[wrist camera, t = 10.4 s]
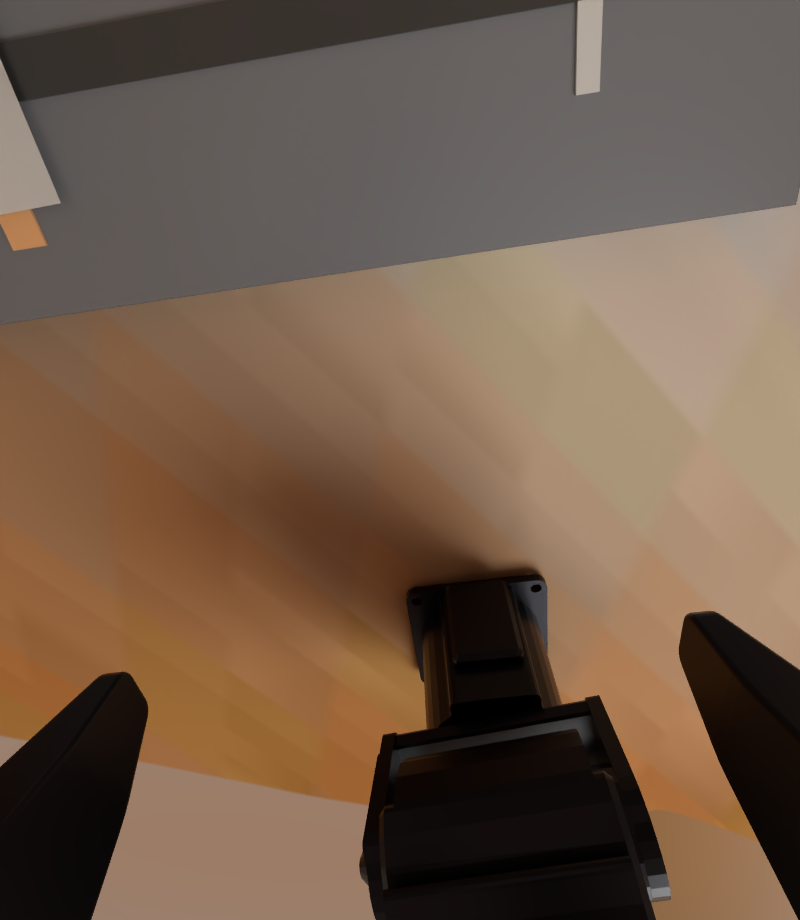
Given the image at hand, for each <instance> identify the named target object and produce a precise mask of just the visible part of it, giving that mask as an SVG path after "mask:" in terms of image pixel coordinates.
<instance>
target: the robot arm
mask: <svg viewBox="0 0 800 920" xmlns="http://www.w3.org/2000/svg"><path fill="white" fill-rule="evenodd" d="M535 584H538V585H537V586H533V585H535ZM416 597H417V598H420V599H414V598H416ZM406 602H407V608H408V613H409V618H410V624H411V629H412V634H413V640H414V645H415V650H416V655H417V661H418V666H419V671H420V677H421V680H422V681H423V682H424V686H425V704H426V723H427V729H425V730H420V731H415V732H409V733H404V734H398V735H397V733H390V734H385V735H383V737H382V743H381V748H380V754H378V757H377V762H376V768H375V774H374V779H373V785H372V791H371V796H370V802H369V808H368V814H367V819H366V825H365V831H364V836H363V852H362V855H361V858H360V864H359V867H360V875H361V878H362V879H363V880H364V881H365V882H366V884H367V885H368V886H369V892H370V899H371V903H372V908H373V912H374V916H375V919H376V920H656V919H655V915H654V912H653V908H652V905H651V902H658V901H666V900H670V899H671V892H670V886H669V882H668V877H667V873H666V870H665V865H664V862H663V858H662V854H661V851H660V848H659V844H658V841H657V838H656V835H655V832H654V829H653V826H652V822H651V819H650V816H649V814H648V811H647V808H646V805H645V802H644V799H643V797H642V794H641V791H640V789H639V786H638V784H637V781H636V779H635V777H634V774H633V772H632V770H631V767H630V765H629V763H628V760H627V758H626V756H625V754H624V751H623V749H622V747H621V744H620V742H619V740H618V738H617V735H616V733H615V731H614V728H613V726H612V724H611V721H610V719H609V717H608V715H607V712H606V710H605V708H604V705H603V703H602V701H601V699H600V696H599V695H597V696H592V697H586V698H585V700H584V701H579V702H573V703H568V704H562V703H561V699H560V696H559V692H558V689H557V686H556V682H555V679H554V675H553V672H552V669H551V665H550V662H549V658H548V655H547V585H546V582H545V579H544V578H543V577H542V576H541V575H538V574H533V575H524V576H515V577H506V578H497V579H488V580H478V581H469V582H460V583H451V584H442V585H433V586H424V587H415V588H412V589H410V590H409V591H408V592H407V595H406ZM679 657H680V661H681V664H682V667H683V670H684V672H685V675H686V677H687V680H688V683H689V685H690V688H691V690H692V693H693V696H694V698H695V701H696V703H697V706H698V709H699V711H700V714H701V717H702V719H703V722H704V724H705V727H706V730H707V732H708V735H709V737H710V740H711V743H712V745H713V748H714V750H715V753H716V755H717V758H718V760H719V762H720V764H721V767H722V769H723V771H724V773H725V775H726V777H727V779H728V781H729V783H730V785H731V787H732V789H733V791H734V793H735V795H736V797H737V799H738V801H739V803H740V805H741V807H742V809H743V811H744V813H745V815H746V817H747V819H748V821H749V823H750V825H751V827H752V829H753V831H754V833H755V835H756V837H757V839H758V841H759V843H760V845H761V847H762V848H763V851H764V852H765V854H766V856H767V858H768V860H769V862H770V864H771V866H772V868H773V870H774V872H775V874H776V876H777V878H778V880H779V882H780V884H781V886H782V888H783V890H784V892H785V894H786V896H787V898H788V900H789V902H790V904H791V906H792V908H793V910H794V912H795V914H796V915H797V918H798V920H800V670H799V669H798V668H796V667H795V666H794V665H792V664H791V663H789V662H788V661H786V660H785V659H784V658H782V657H781V656H779V655H778V654H776V653H775V652H773V651H772V650H771V649H769V648H768V647H766V646H765V645H763V644H762V643H761V642H759V641H758V640H756V639H755V638H753V637H752V636H751V635H749V634H748V633H746V632H745V631H743V630H742V629H741V628H739V627H738V626H736V625H735V624H733V623H732V622H730V621H729V620H728V619H726V618H725V617H723V616H722V615H720V614H719V613H717V612H714V611H703V612H693V613H688V614H687V615H686V616H685V618H684V622H683V628H682V633H681V639H680V644H679ZM147 717H148V705H147V701H146V699H145V697H144V696H143V694H142V692H141V691H140V689H139V687H138V686H137V684H136V683H135V681H134V679H133V678H132V676H131V675H130V674H129V673H127V672H116V673H107V674H103V675H101V676H99V677H98V678H97V679H95V680H94V681H93V682H92V683H91V684H90V685H89V686H88V687H87V688H86V689H85V690H83V691H82V692H81V693H80V694H79V695H78V696H77V697H76V698H75V699H74V700H73V701H71V702H70V703H69V704H68V705H67V706H66V707H65V708H64V709H63V710H62V711H61V712H60V713H58V714H57V715H56V716H55V717H54V718H53V719H52V720H51V721H50V722H49V723H48V724H46V725H45V726H44V727H43V728H42V729H41V730H40V731H39V732H38V733H37V734H36V735H34V736H33V737H32V738H31V739H30V740H29V741H28V742H27V743H26V744H25V745H24V746H22V747H21V748H20V749H19V750H18V751H17V752H16V753H15V754H14V755H13V756H12V757H11V758H9V759H8V760H7V761H6V762H5V763H4V764H3V765H2V766H1V767H0V920H91V919H92V916H93V913H94V909H95V906H96V903H97V900H98V897H99V894H100V891H101V888H102V885H103V882H104V879H105V876H106V873H107V869H108V866H109V863H110V860H111V857H112V854H113V851H114V848H115V845H116V842H117V839H118V836H119V833H120V829H121V826H122V823H123V820H124V816H125V813H126V809H127V805H128V801H129V797H130V793H131V789H132V784H133V780H134V775H135V771H136V766H137V762H138V758H139V753H140V749H141V744H142V740H143V735H144V731H145V727H146V722H147Z"/></svg>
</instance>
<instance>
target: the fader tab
mask: <svg viewBox="0 0 800 920" xmlns="http://www.w3.org/2000/svg"><path fill="white" fill-rule="evenodd" d="M60 203H61V202H60V200H59V197H58V195H57V192H56V190H55V188H54V185H53V183H52V181H51V178H50V176H49V173H48V171H47V169H46V166H45V164H44V162H43V159H42V157H41V154H40V152H39V150H38V147H37V145H36V143H35V140H34V138H33V135H32V133H31V131H30V128H29V126H28V124H27V121H26V119H25V116H24V114H23V112H22V109H21V107H20V104H19V102H18V100H17V97H16V95H15V93H14V90H13V88H12V85H11V83H10V81H9V78H8V76H7V74H6V71H5V69H4V66H3V64H2V62H1V59H0V215H2V214H8V213H13V212H18V211H23V210H28V209H34V208H39V207H44V206H49V205H55V204H60Z"/></svg>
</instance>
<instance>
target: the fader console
mask: <svg viewBox="0 0 800 920" xmlns="http://www.w3.org/2000/svg"><path fill="white" fill-rule="evenodd" d="M0 59H1V62H2V64H3V66H4V69H5V71H6V74H7V76H8V78H9V81H10V83H11V85H12V88H13V90H14V93H15V95H16V97H17V100H18V102H19V104H20V107H21V109H22V112H23V114H24V116H25V119H26V121H27V124H28V126H29V128H30V131H31V133H32V135H33V138H34V140H35V143H36V145H37V147H38V150H39V152H40V154H41V157H42V159H43V162H44V164H45V166H46V169H47V171H48V173H49V176H50V178H51V181H52V183H53V185H54V188H55V190H56V192H57V195H58V197H59V200H60V202H61V203H60V204H55V205H49V206H44V207H39V208H34V209H28V210H23V211H18V212H13V213H8V214H2V215H0V325H1V324H8V323H14V322H21V321H27V320H34V319H41V318H47V317H54V316H61V315H67V314H74V313H80V312H87V311H94V310H100V309H107V308H114V307H120V306H127V305H134V304H140V303H147V302H153V301H160V300H167V299H173V298H180V297H187V296H193V295H200V294H207V293H213V292H220V291H226V290H233V289H240V288H246V287H253V286H260V285H266V284H273V283H280V282H286V281H293V280H299V279H306V278H313V277H319V276H326V275H333V274H339V273H346V272H352V271H359V270H366V269H372V268H379V267H386V266H392V265H399V264H406V263H412V262H419V261H425V260H432V259H439V258H445V257H452V256H459V255H465V254H472V253H479V252H485V251H492V250H498V249H505V248H512V247H518V246H525V245H532V244H538V243H545V242H551V241H558V240H565V239H571V238H578V237H585V236H591V235H598V234H605V233H611V232H618V231H624V230H631V229H638V228H644V227H651V226H658V225H664V224H671V223H678V222H684V221H691V220H697V219H704V218H711V217H717V216H724V215H731V214H737V213H744V212H751V211H757V210H764V209H770V208H777V207H784V206H790V205H796V202H797V197H798V192H799V188H800V0H0Z"/></svg>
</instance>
